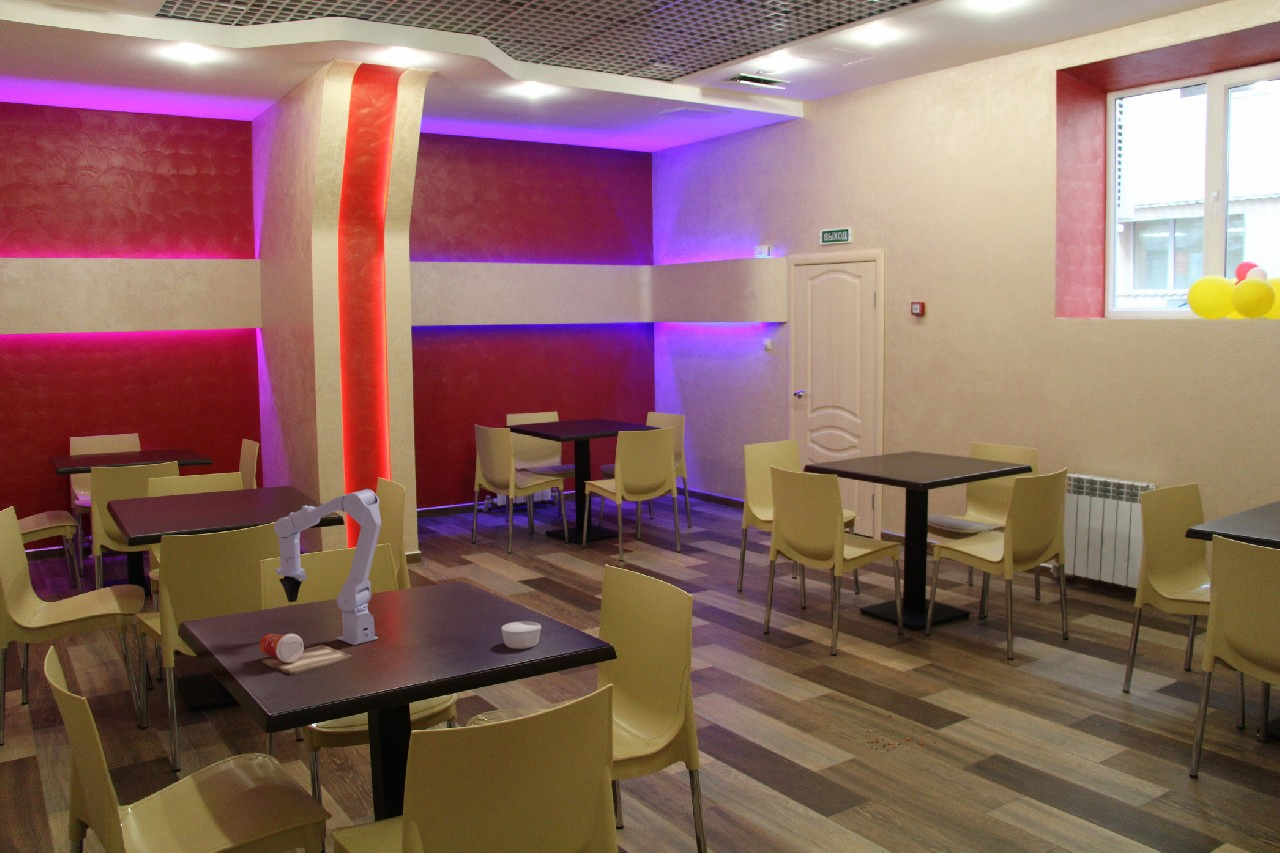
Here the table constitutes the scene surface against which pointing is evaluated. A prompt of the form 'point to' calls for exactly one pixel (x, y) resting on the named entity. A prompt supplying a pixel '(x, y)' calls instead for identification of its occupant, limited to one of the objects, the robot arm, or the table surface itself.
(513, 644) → the ramekin
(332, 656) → the birch board
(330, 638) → the table surface
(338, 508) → the robot arm
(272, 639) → the paper cup
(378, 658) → the table surface
